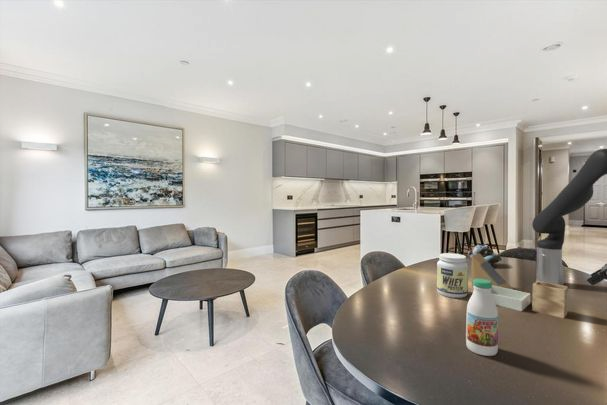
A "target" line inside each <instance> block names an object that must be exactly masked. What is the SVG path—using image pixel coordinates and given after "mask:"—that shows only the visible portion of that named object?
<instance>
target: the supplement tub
mask: <svg viewBox="0 0 607 405" xmlns="http://www.w3.org/2000/svg"><path fill="white" fill-rule="evenodd" d="M438 259H439V260H438V261H437V263H436V290H437V293H438V294H440V295H442V296H444V297H448V298H453V299H454V298H455V299H460V298H466V297H467V295H468V293H469V290H468V289H469V265H468V263H467V257H466V255H464V254H460V253H449V252H445V253H444V252H443V253H440V254H439V257H438Z"/></svg>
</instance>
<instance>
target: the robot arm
mask: <svg viewBox="0 0 607 405" xmlns="http://www.w3.org/2000/svg"><path fill="white" fill-rule="evenodd" d="M606 175H607V148H600V149H598V150H596V151H594V152H592V153H591V154H590V156H589V157H588V158H587V159H586V161H585V162H584V164H583V165H582V166H581V168H580V169H579V171H578V172H577V174H576V175H575V176H574V177H573V178H572V179H571V181H570V182H569V183H568V184H567V185H566V186H565V187H564V188H563V189H562V190H561V191H560V192H559V194H558V195H557V196H556V197H555V198H554V199H553V200H552V201H551V202H550V203H549V204H548V205H547V206H546V207H545V208H544V209H542V210H541V211H540V212H539V213H537V214H536V216H534V218H533V219H532V229H533V231H535V232H536V233H538V234H548V235H547V236H546V237H544V238H543V239H539V240H538V241H537V243H536V271H535V272H536V280H535V282H536V281H540V282H546V283H551V284H556V285H562V286H565V284H564V281H565V278H564V276H565V274H564V273H565V265H564V264H563V245H564V242H565V235H566V220H565V218H564V217H563V216H568V215H569V214H572V213H574V212H576V211H579V210H580V209H582V208H583V207H584V206H585V205H586V204H587V203H588V202H589V201H590V200H591V199H592V198H593V196H594V184H595V183H597V181H599V179H601V178H602V177H604V176H606ZM586 281H587V282H588V283H589V284H590V285H591V286H595V285H597V284H599V283H600V282H603V281H607V263H605V264H604V265H603V266H601V268H600V269H598V270H596V271H594V272H591V274H590V277H589V278H587V279H586Z"/></svg>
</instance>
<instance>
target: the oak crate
mask: <svg viewBox="0 0 607 405" xmlns="http://www.w3.org/2000/svg"><path fill="white" fill-rule="evenodd" d="M568 287H569V286H568V285H556V284H551V283H546V282H540V281H536V280H535V282H533V283H532V293H531V295H532V296H531V297H532V300H531V302H532V303H531V306H532V308H531V310H532V311H533V312H536V313H541V314H545V315H549V316H554V317H557V318H562V319H565V317H566V316H567V314H568V292H569V291H568V290H569V288H568Z"/></svg>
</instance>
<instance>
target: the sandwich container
mask: <svg viewBox="0 0 607 405" xmlns="http://www.w3.org/2000/svg"><path fill="white" fill-rule="evenodd" d="M474 279H486V280H489V281H491V282H492V285H493V286H497V287H502V288H507V289H512V290H515V289H514V288H513V287H512V286H511V285H510V284H509V283H508V282H507V281H506V280H505V279H504V278H503V277H502V276H501V275H500V274H499V272H497V270H496V269H495V268H494V267H493V266H492V264H491V265H490V264H489V263H488V262H487V261H486V260H485V258H484V257H483V256H482V255H481V254H480V253H479V254H476V255H473V256H472V258H471V287H472V288H474V287H473V280H474Z"/></svg>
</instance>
